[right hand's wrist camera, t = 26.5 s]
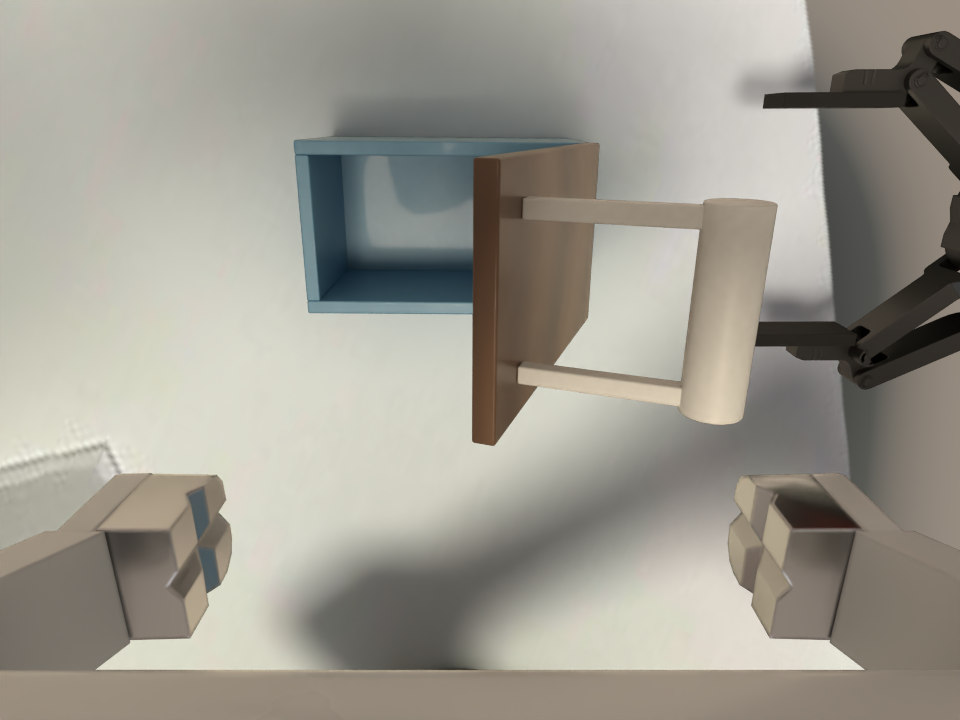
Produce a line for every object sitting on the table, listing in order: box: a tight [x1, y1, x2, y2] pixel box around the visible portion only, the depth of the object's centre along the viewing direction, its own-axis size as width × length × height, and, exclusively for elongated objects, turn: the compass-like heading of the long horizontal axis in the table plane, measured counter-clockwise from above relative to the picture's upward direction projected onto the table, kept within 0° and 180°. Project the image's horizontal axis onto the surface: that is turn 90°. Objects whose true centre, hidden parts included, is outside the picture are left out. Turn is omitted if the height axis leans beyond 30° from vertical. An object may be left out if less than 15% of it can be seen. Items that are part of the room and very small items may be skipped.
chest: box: [294, 137, 588, 314], centre depth 40 cm, size 16×10×9 cm, turn 90°
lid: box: [472, 143, 778, 446], centre depth 27 cm, size 17×10×9 cm
